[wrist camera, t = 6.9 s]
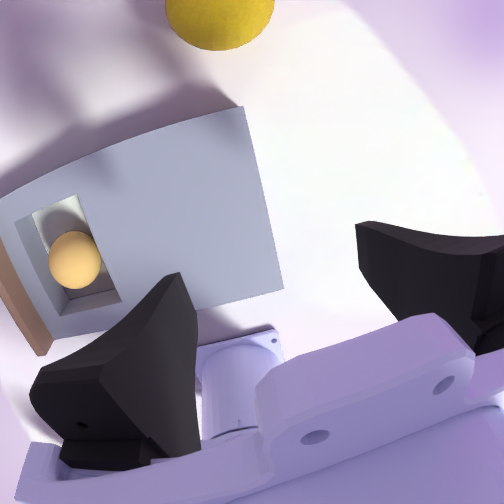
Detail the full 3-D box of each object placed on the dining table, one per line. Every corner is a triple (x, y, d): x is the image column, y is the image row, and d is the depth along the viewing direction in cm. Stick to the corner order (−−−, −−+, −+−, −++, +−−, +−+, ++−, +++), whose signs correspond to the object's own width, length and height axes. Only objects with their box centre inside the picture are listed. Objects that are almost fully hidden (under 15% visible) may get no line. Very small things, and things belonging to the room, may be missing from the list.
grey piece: (277, 272, 23) (290, 305, 19) (56, 324, 23) (37, 356, 19) (239, 107, 18) (246, 103, 14) (-2, 200, 17) (-35, 219, 13)
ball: (97, 279, 22) (120, 253, 20) (66, 308, 18) (85, 283, 16) (66, 242, 21) (85, 211, 19) (32, 265, 17) (46, 234, 16)
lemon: (160, 46, 15) (128, 4, 8) (199, -19, 14) (193, -83, 6) (239, 75, 17) (255, 45, 10) (276, 9, 15) (310, -45, 8)
